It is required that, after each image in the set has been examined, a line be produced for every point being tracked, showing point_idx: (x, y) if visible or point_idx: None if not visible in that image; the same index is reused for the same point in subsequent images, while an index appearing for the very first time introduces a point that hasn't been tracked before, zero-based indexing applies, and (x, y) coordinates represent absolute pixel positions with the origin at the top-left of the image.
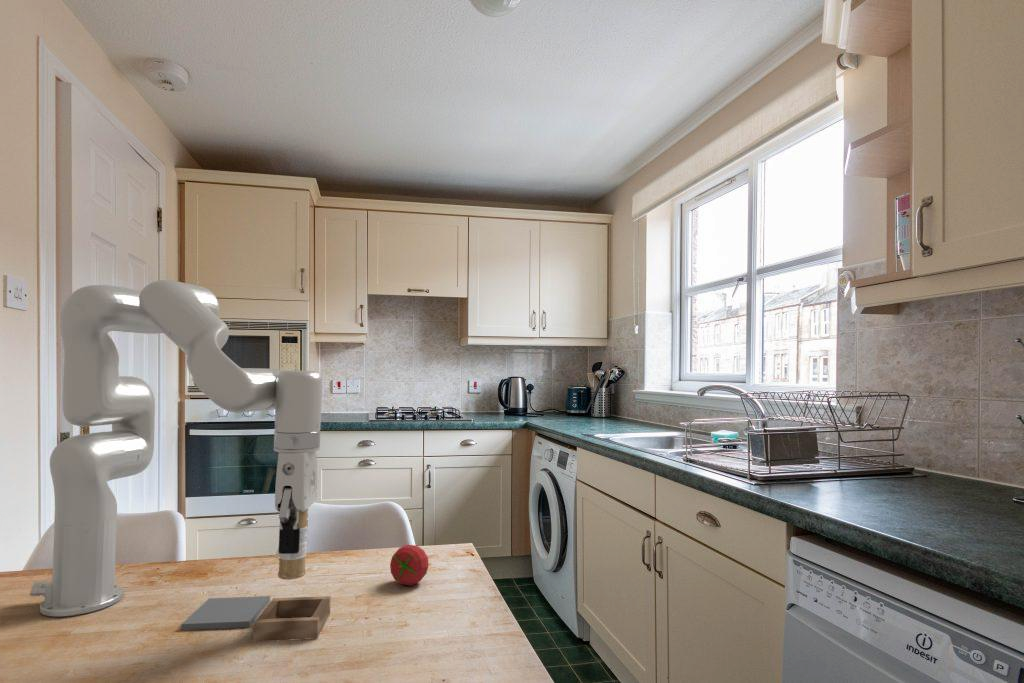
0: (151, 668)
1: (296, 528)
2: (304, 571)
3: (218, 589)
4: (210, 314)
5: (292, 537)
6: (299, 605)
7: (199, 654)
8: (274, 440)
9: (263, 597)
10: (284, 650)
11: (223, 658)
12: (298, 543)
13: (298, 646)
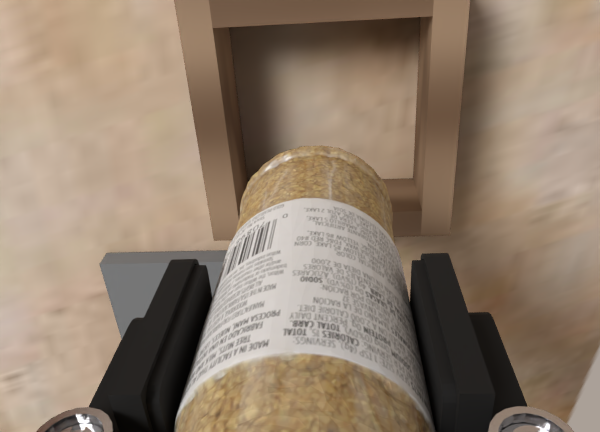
0: (552, 385)
1: (507, 423)
2: (316, 155)
3: (39, 414)
4: None
5: (511, 378)
6: (230, 124)
7: (496, 314)
8: None
9: (115, 280)
10: (532, 73)
11: (541, 247)
12: (460, 295)
13: (509, 28)
